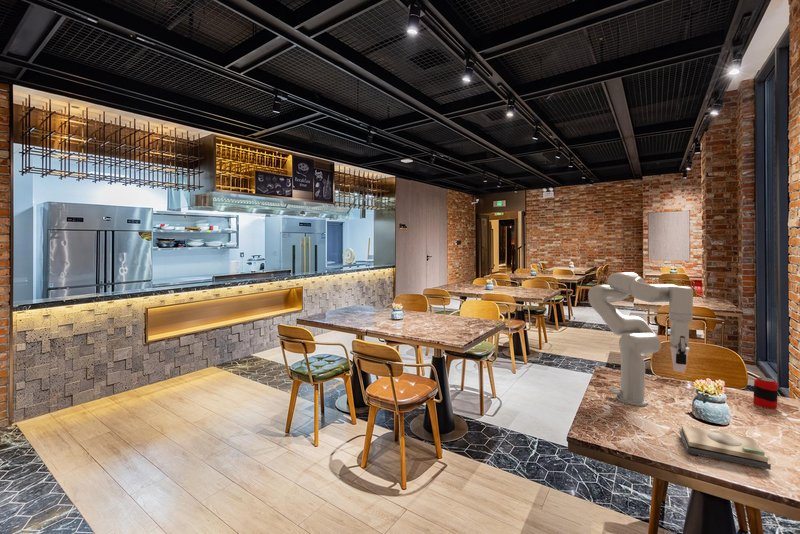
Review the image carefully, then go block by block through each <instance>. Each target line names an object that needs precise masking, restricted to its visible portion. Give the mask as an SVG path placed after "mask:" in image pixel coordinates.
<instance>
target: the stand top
mask: <svg viewBox="0 0 800 534" xmlns="http://www.w3.org/2000/svg"><path fill="white" fill-rule="evenodd" d="M681 429H682V431H683V433H684V436H685V438H686V440H687V442H688V445H689V446H691V447H696V448H701V449H706V450H711V451H716V452H720V453H725V454H730V455H735V456H740V457H744V458H749V459H754V460H759V461H764V462H768V461H769V457H768V455H767V454H766V453H765V451H764V450H763V448H761V447H760V445H759V444H758V442H757V441H756V440H755V439H754V438H753V437H749V436H745V435H739V434H733V433H729V432H727V433H726V432H725V431H724V432H723V431H719V430H718V431H717V430H712V429H707V428H701V427H696V426H691V425H690V426H689V425H685V424H681Z"/></svg>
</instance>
